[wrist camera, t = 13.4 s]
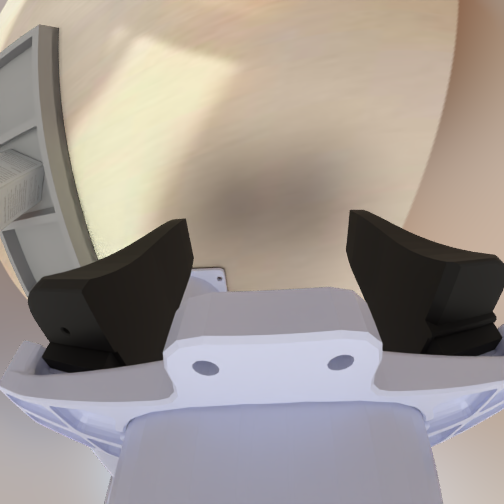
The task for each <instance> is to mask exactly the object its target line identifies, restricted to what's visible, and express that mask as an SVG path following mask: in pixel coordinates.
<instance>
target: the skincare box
mask: <svg viewBox="0 0 504 504" xmlns="http://www.w3.org/2000/svg"><path fill="white" fill-rule="evenodd" d="M43 178H44V166H43V163H41V162H39V161H37V160H34V159H32V158H30V157H28V156H25V155H23V154H21V153H19V152H16V151H14V150H12V149H8V150H6V151H3V152H1V153H0V231H1V230H3V229H4V228H5V227H6V226H8V225H9V224H10V223H11V222H13V221H14V220H15V219H17V218H18V217H19V216H21V215H22V214H23V213H25V212H26V211H28V210H29V209H30V208H32V207H33V206H35V205H36V204H38V203H39V202H40V201H41V195H42V186H43Z"/></svg>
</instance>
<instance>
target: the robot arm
mask: <svg viewBox="0 0 504 504" xmlns="http://www.w3.org/2000/svg"><path fill="white" fill-rule="evenodd" d="M346 252H347V256H348V260H349V263H350V266H351V269H352V271H353V274H354V276H355V278H356V281H357V283H358V285H359V287H360V289H361V292H362V294H363V296H364V299H365V301H366V302H365V301H364V300H363V299H362V298H361V297H360V296H359V295H357V294H356V293H355V292H354V291H353V290H346V289H340V288H333V287H319V288H303V289H285V290H264V291H238V292H228V291H227V284H226V277H225V272H224V270H223V269H222V268H204V269H192V265H193V259H194V256H193V252H192V247H191V242H190V238H189V233H188V228H187V223H186V219H174V220H170V221H168V222H166V223H165V224H163V225H161V226H160V227H158V228H156V229H155V230H153V231H152V232H150V233H148V234H147V235H145V236H144V237H142V238H140V239H139V240H137V241H135V242H134V243H132V244H131V245H129V246H127V247H125V248H124V249H122V250H120V251H118V252H116V253H114V254H112V255H110V256H108V257H105V258H103V259H100V260H98V261H95V262H93V263H91V264H88V265H85V266H82V267H79V268H76V269H73V270H69V271H66V272H61V273H57V274H53V275H48V276H44V277H42V278H41V279H40V280H39V281H38V283H37V284H36V285H35V286H34V287H33V289H32V290H31V291H30V292H29V295H28V305H29V308H30V311H31V313H32V315H33V317H34V319H35V321H36V322H37V324H38V325H39V327H40V328H41V330H42V331H43V333H44V334H45V336H46V337H47V339H48V340H49V342H50V343H49V345H48V347H47V348H45V347H44V346H43V345H41V344H38V343H34V342H30V341H26V340H25V341H23V342H22V344H21V345H20V347H19V348H18V350H17V352H16V353H15V355H14V357H13V358H12V360H11V362H10V363H9V365H8V367H7V369H6V371H5V373H4V374H3V376H2V378H1V380H0V390H1V391H2V392H3V393H4V394H5V395H6V396H7V397H8V398H9V399H10V400H11V401H12V402H13V403H14V404H15V405H17V406H18V407H19V408H20V409H21V410H22V411H23V412H25V414H27V415H28V416H29V417H30V418H31V419H33V420H34V421H35V422H37V423H39V424H41V425H43V426H45V427H47V428H49V429H51V430H53V431H55V432H57V433H59V434H62V435H64V436H66V437H68V438H70V439H73V440H74V441H77V442H79V443H82V444H84V445H86V446H88V447H90V449H91V450H92V451H93V453H94V454H95V455H96V456H97V458H98V459H99V460H100V462H101V463H102V464H103V465H104V467H105V468H106V469H107V470H108V471H109V473H110V474H111V479H110V483H109V486H108V490H107V494H106V499H105V502H104V504H443V501H442V495H441V489H440V484H439V479H438V475H437V470H436V465H435V461H434V458H433V453H432V449H431V447H433V446H435V445H437V444H440V443H442V442H444V441H446V440H448V439H450V438H452V437H454V436H456V435H458V434H460V433H462V432H463V431H466V430H468V429H470V428H471V427H473V426H475V425H477V424H478V423H480V422H482V421H484V420H486V419H487V418H489V417H491V416H493V415H494V414H496V413H498V412H499V411H501V410H503V409H504V324H503V325H501V326H500V327H499V328H498V329H497V328H496V326H495V325H494V323H493V322H495V321H496V316H495V314H494V313H493V309H494V308H495V305H496V304H497V301H498V300H499V297H500V295H501V293H502V291H503V288H504V263H503V262H502V261H501V260H500V259H499V258H498V257H497V256H496V255H492V254H484V253H478V252H471V251H466V250H461V249H457V248H453V247H449V246H446V245H442V244H439V243H436V242H433V241H430V240H427V239H425V238H422V237H420V236H417V235H415V234H413V233H410V232H408V231H406V230H404V229H402V228H400V227H398V226H396V225H394V224H392V223H390V222H388V221H386V220H384V219H382V218H380V217H379V216H377V215H375V214H372V213H370V212H368V211H365V210H350V214H349V226H348V236H347V245H346ZM218 277H222V279H219V278H218Z"/></svg>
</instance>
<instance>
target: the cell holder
mask: <svg viewBox="0 0 504 504" xmlns="http://www.w3.org/2000/svg"><path fill="white" fill-rule="evenodd" d="M58 32H59V28H56V27H50V26H45V25H38V26H36V27H35V28H33V29H32V30H30V31H29V32H27V33H26V34H24V35H23V36H22V37H20V38H19V39H17V40H16V41H15V42H13V43H12V44H11V45H9V46H8V47H7V48H6V49H4V50H3V51H2V52H1V53H0V153H1V152H3V151H6V150H8V149H12V150H14V151H16V152H19V153H21V154H23V155H25V156H28V157H30V158H32V159H34V160H37V161H39V162H41V163H43V166H44V178H43V186H42V195H41V201H40V202H39V203H38V204H36V205H35V206H33V207H32V208H30V209H29V210H28V211H26V212H25V213H23V214H22V215H21V216H19V217H18V218H17V219H15V220H14V221H13V222H11V223H10V224H9V225H8V226H6V227H5V228H4V229H3V230H1V231H0V237H1V240H2V242H3V245H4V248H5V250H6V253H7V255H8V257H9V260H10V262H11V264H12V267H13V269H14V271H15V273H16V275H17V277H18V280H19V282H20V284H21V286H22V288H23V290H24V292H25V294H26V296H27V297H28V295H29V292H30V291H31V290H32V289H33V287H34V286H35V285H36V284H37V283H38V281H39V280H40V279H41V278H42V277H44V276H48V275H53V274H57V273H61V272H66V271H69V270H73V269H76V268H79V267H82V266H85V265H88V264H91V263H93V262H95V261H98V259H97V256H96V253H95V250H94V248H93V245H92V242H91V239H90V235H89V232H88V229H87V226H86V223H85V219H84V216H83V212H82V209H81V205H80V201H79V198H78V194H77V190H76V186H75V182H74V177H73V173H72V168H71V163H70V158H69V153H68V148H67V142H66V136H65V130H64V123H63V115H62V107H61V97H60V84H59V65H58Z"/></svg>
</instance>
